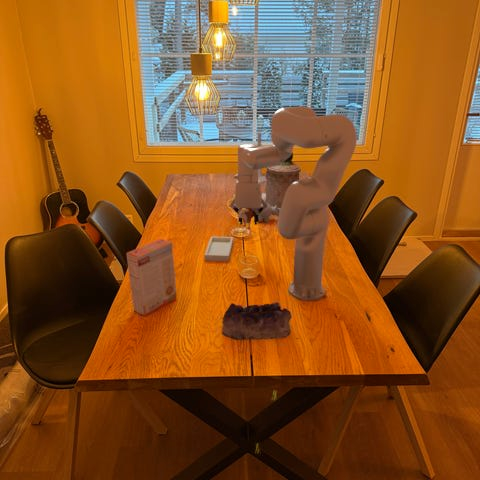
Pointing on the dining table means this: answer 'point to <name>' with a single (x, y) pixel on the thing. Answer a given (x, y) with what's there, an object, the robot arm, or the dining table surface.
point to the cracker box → (152, 276)
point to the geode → (256, 322)
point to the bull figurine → (247, 216)
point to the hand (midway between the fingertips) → (248, 223)
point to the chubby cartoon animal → (268, 213)
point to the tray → (219, 249)
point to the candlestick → (260, 177)
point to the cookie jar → (280, 181)
